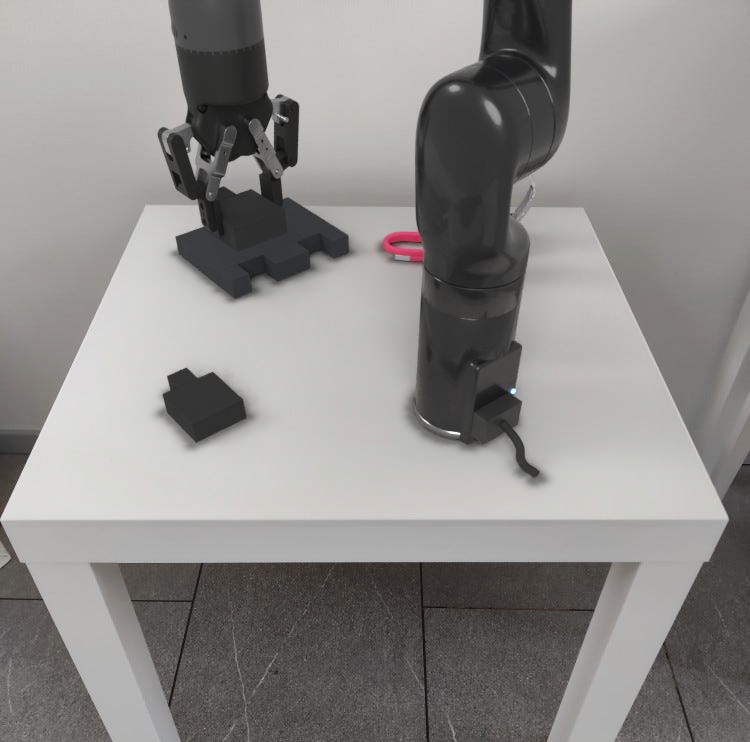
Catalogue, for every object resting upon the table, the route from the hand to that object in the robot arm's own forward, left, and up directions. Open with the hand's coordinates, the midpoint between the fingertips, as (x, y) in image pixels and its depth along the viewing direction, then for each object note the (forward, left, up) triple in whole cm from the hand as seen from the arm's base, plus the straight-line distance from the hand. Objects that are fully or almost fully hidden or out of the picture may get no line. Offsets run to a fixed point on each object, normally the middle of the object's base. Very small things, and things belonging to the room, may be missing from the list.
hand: (244, 222), depth 76 cm
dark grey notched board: (+18, -12, -15) cm, 26 cm away
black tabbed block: (+1, 0, -1) cm, 2 cm away
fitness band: (+6, -28, -15) cm, 33 cm away
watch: (0, -38, -15) cm, 41 cm away
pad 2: (-5, +11, -15) cm, 19 cm away
